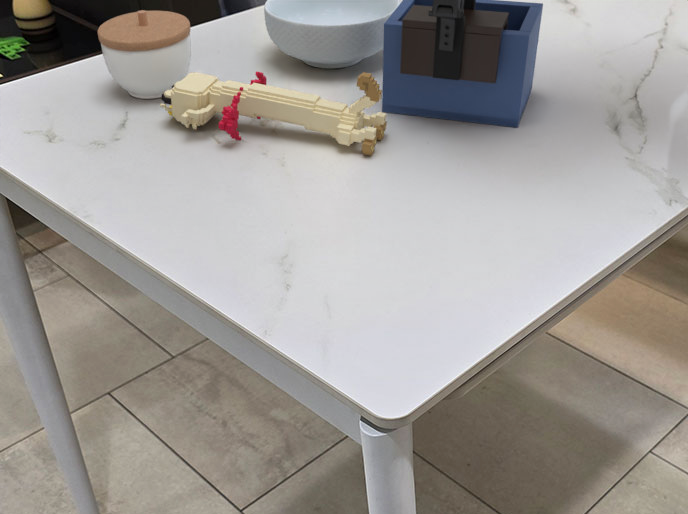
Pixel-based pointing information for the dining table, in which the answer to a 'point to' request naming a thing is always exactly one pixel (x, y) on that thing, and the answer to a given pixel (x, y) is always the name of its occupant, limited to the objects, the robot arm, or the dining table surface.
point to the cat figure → (276, 107)
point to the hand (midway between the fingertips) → (452, 67)
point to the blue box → (461, 95)
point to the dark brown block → (477, 43)
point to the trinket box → (146, 51)
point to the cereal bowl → (328, 29)
